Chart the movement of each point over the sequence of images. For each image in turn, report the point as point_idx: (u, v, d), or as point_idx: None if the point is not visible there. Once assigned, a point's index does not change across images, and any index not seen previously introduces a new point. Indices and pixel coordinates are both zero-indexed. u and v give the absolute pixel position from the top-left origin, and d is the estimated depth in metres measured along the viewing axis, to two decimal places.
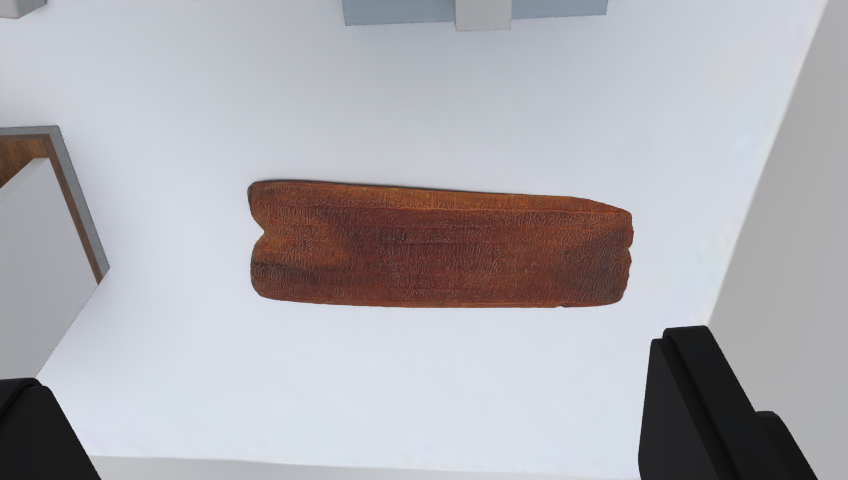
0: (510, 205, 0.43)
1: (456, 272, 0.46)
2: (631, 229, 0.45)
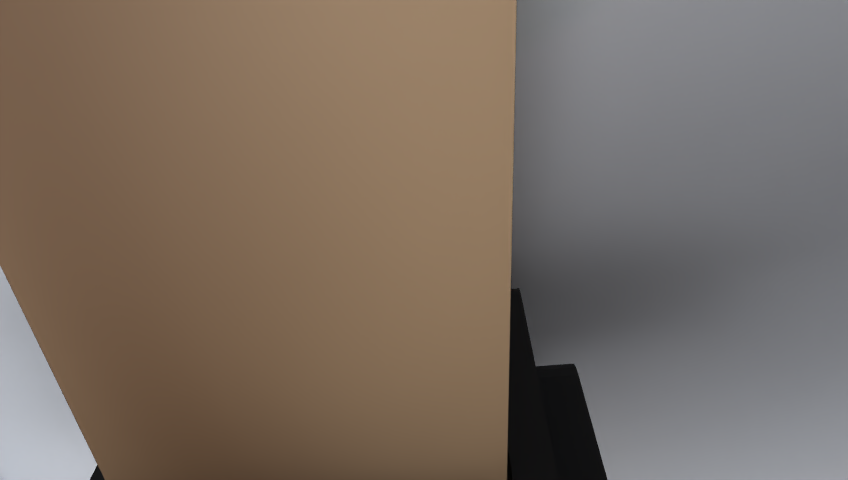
0: None
1: None
2: None
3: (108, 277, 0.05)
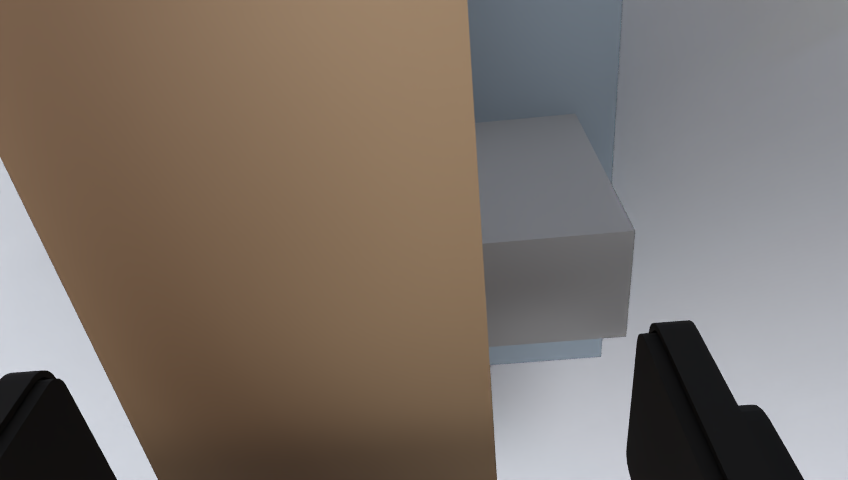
0: None
1: None
2: None
3: (129, 239, 0.06)
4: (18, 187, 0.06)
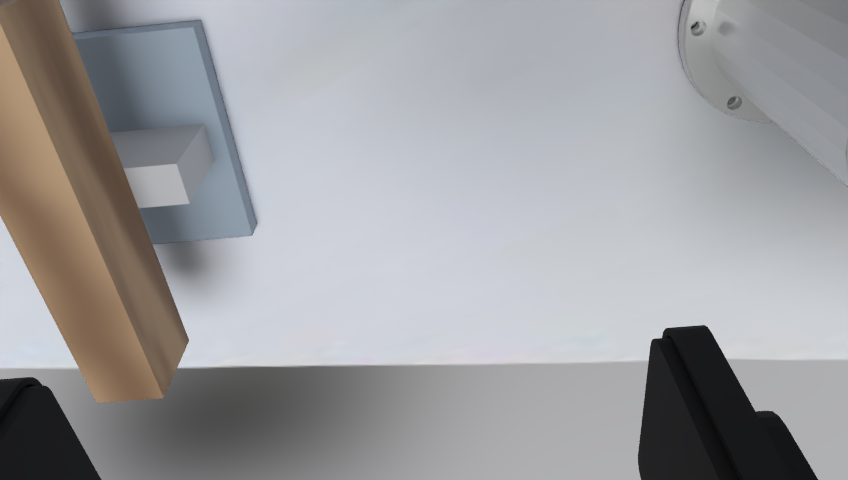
0: None
1: None
2: None
3: None
4: None
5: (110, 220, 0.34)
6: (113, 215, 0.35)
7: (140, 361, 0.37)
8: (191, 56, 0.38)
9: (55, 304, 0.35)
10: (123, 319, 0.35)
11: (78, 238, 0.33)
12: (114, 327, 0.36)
